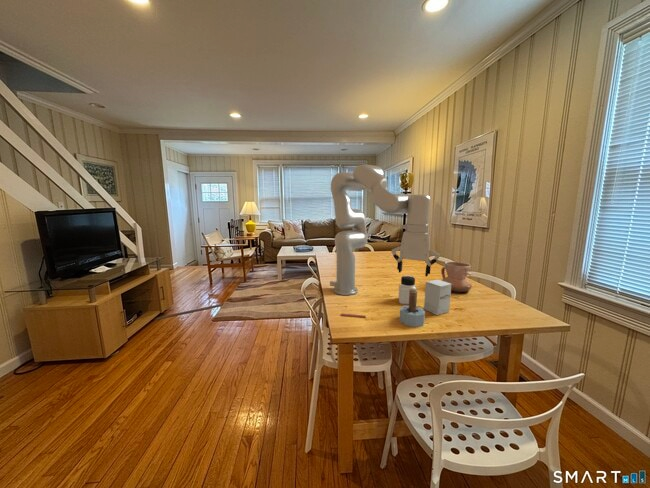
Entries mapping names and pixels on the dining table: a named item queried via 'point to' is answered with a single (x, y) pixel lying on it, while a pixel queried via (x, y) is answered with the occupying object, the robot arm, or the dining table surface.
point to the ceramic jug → (457, 275)
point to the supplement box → (437, 297)
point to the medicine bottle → (405, 288)
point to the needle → (412, 300)
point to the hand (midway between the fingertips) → (413, 273)
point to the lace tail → (353, 315)
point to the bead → (412, 316)
